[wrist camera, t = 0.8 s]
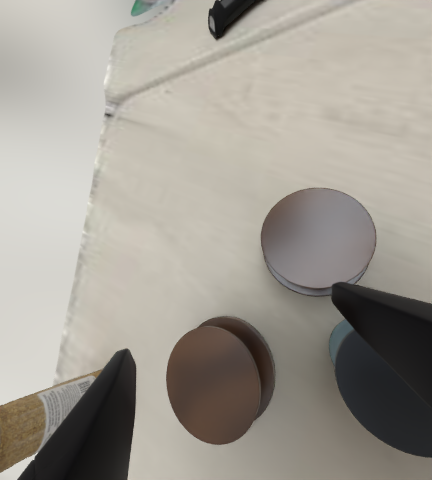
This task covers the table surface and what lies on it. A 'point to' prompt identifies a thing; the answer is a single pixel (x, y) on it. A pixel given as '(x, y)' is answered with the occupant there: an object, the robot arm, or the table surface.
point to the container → (379, 394)
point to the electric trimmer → (225, 14)
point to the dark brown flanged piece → (317, 240)
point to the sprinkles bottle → (37, 418)
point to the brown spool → (220, 379)
